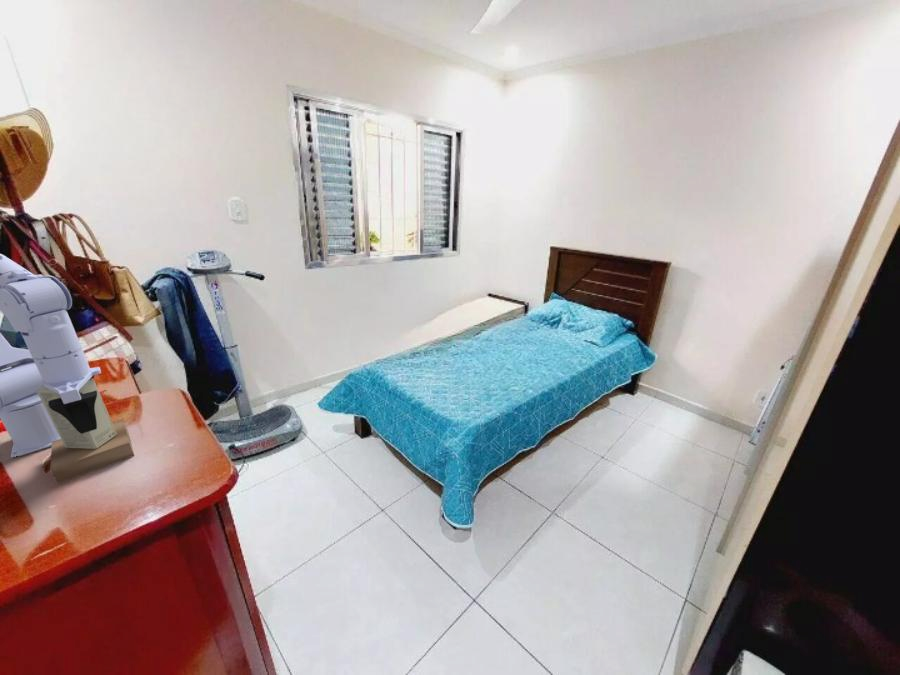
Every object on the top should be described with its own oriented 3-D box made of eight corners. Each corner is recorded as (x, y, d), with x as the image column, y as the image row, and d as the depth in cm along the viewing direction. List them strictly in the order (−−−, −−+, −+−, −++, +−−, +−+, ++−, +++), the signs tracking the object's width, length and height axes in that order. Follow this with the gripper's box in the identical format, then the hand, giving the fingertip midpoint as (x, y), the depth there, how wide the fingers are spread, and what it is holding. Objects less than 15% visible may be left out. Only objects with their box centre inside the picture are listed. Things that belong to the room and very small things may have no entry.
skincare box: (118, 434, 68) (96, 377, 63) (95, 450, 63) (70, 390, 59) (86, 433, 68) (62, 375, 63) (61, 448, 64) (33, 388, 59)
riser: (58, 454, 67) (51, 441, 66) (128, 431, 73) (123, 419, 72) (57, 484, 60) (50, 469, 59) (134, 455, 67) (129, 442, 66)
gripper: (92, 358, 57) (121, 429, 62) (89, 334, 67) (114, 397, 72) (27, 372, 53) (63, 447, 58) (33, 344, 62) (64, 411, 67)
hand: (88, 420), depth 65 cm, fingers closed on skincare box, 7 cm apart
